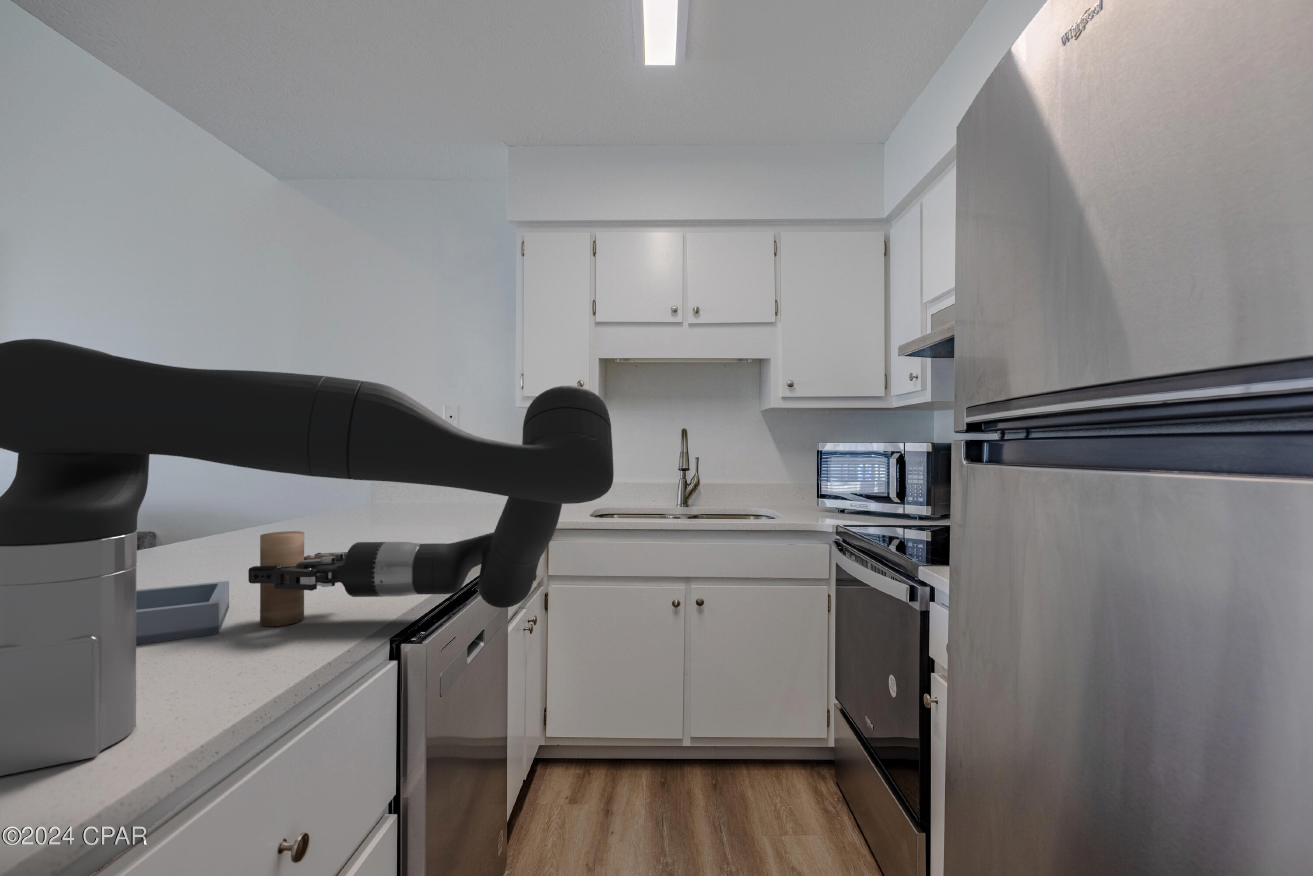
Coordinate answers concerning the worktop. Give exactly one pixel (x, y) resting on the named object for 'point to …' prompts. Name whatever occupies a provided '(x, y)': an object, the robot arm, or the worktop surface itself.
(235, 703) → the worktop surface
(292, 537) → the canister
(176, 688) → the worktop surface
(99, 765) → the worktop surface
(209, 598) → the tray
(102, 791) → the worktop surface
